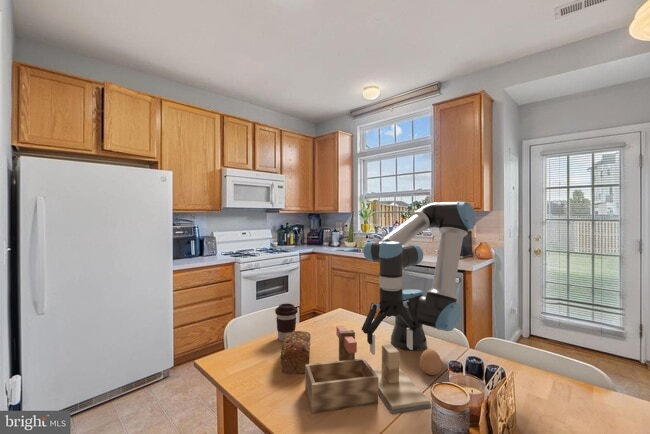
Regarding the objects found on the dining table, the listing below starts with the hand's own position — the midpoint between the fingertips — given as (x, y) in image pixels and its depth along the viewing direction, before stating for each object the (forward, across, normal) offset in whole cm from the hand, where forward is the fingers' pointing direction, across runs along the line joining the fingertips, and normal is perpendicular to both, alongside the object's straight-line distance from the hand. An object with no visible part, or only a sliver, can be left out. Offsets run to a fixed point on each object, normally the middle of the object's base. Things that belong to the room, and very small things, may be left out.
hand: (391, 350), depth 102 cm
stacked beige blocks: (+10, +1, +4) cm, 11 cm away
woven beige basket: (+10, +19, 0) cm, 22 cm away
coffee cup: (+10, +31, -43) cm, 54 cm away
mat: (+10, +1, +4) cm, 11 cm away
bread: (+10, +30, -20) cm, 37 cm away
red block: (+1, +13, -11) cm, 17 cm away
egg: (+11, -16, -2) cm, 19 cm away
